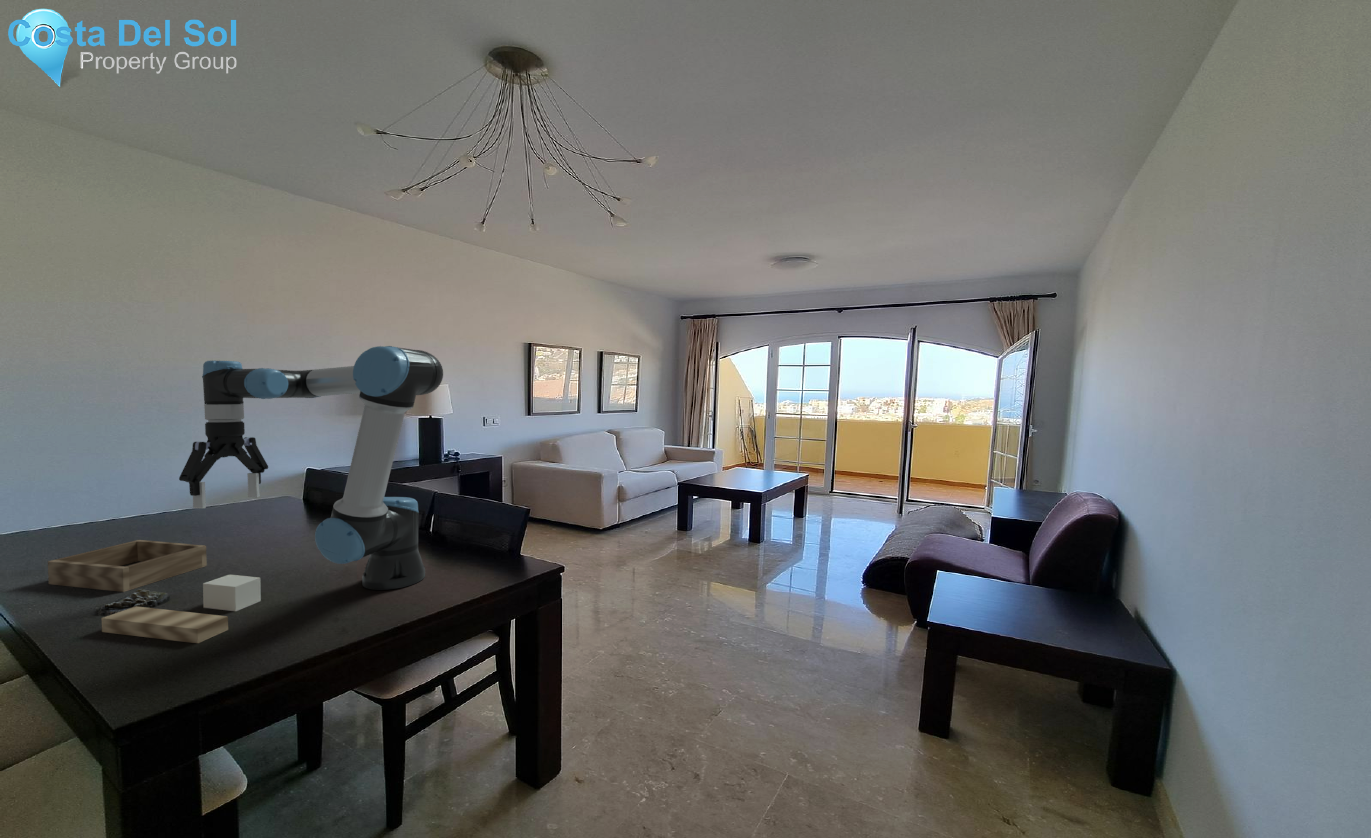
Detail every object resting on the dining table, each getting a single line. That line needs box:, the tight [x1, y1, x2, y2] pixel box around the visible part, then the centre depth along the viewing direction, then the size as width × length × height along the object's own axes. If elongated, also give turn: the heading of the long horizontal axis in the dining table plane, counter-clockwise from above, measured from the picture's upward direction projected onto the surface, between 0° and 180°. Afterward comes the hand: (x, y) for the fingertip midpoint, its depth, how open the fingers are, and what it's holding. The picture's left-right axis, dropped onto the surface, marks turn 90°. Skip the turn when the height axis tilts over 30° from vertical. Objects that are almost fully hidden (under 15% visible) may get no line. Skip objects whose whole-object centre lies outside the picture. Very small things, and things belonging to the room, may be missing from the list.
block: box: [202, 574, 262, 612], centre depth 123 cm, size 9×6×6 cm, turn 81°
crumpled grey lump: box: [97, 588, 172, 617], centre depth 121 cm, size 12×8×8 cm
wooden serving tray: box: [47, 539, 208, 593], centre depth 139 cm, size 23×19×6 cm
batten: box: [101, 606, 229, 644], centre depth 109 cm, size 24×6×3 cm, turn 82°
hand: (228, 502), depth 132 cm, fingers open, 13 cm apart
